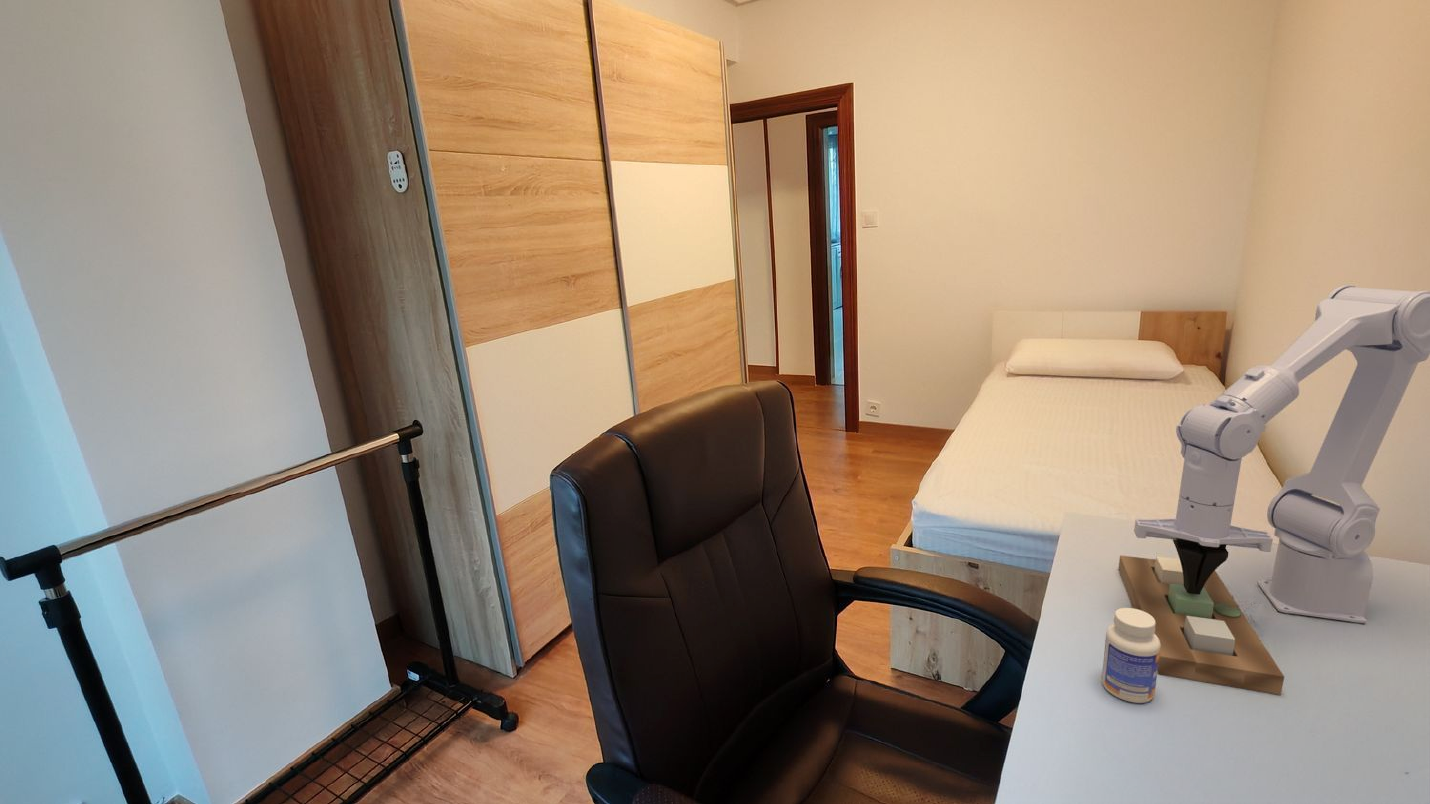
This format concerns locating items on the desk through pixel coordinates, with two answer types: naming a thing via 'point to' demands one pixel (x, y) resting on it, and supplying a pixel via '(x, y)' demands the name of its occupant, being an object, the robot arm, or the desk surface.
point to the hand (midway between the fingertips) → (1191, 590)
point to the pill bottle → (1131, 656)
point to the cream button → (1168, 571)
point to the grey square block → (1208, 635)
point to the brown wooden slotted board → (1176, 658)
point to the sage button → (1190, 602)
